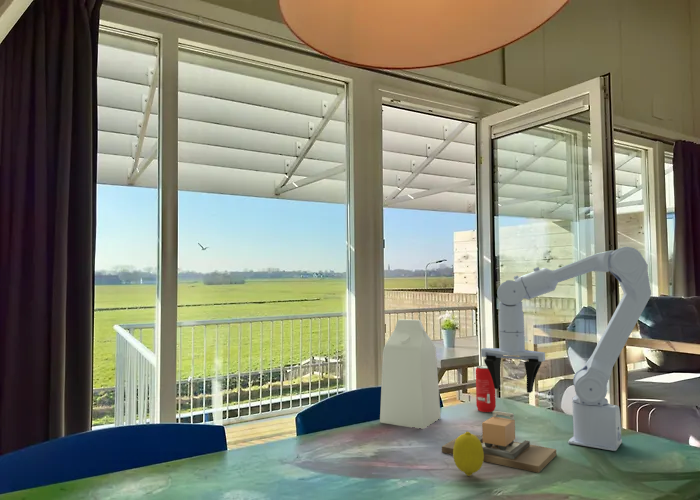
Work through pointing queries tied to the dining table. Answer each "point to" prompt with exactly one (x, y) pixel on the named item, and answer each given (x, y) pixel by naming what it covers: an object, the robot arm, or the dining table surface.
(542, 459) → the dock
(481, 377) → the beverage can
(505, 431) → the toy cart
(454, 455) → the lemon
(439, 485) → the dining table surface
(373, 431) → the dining table surface
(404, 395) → the milk
